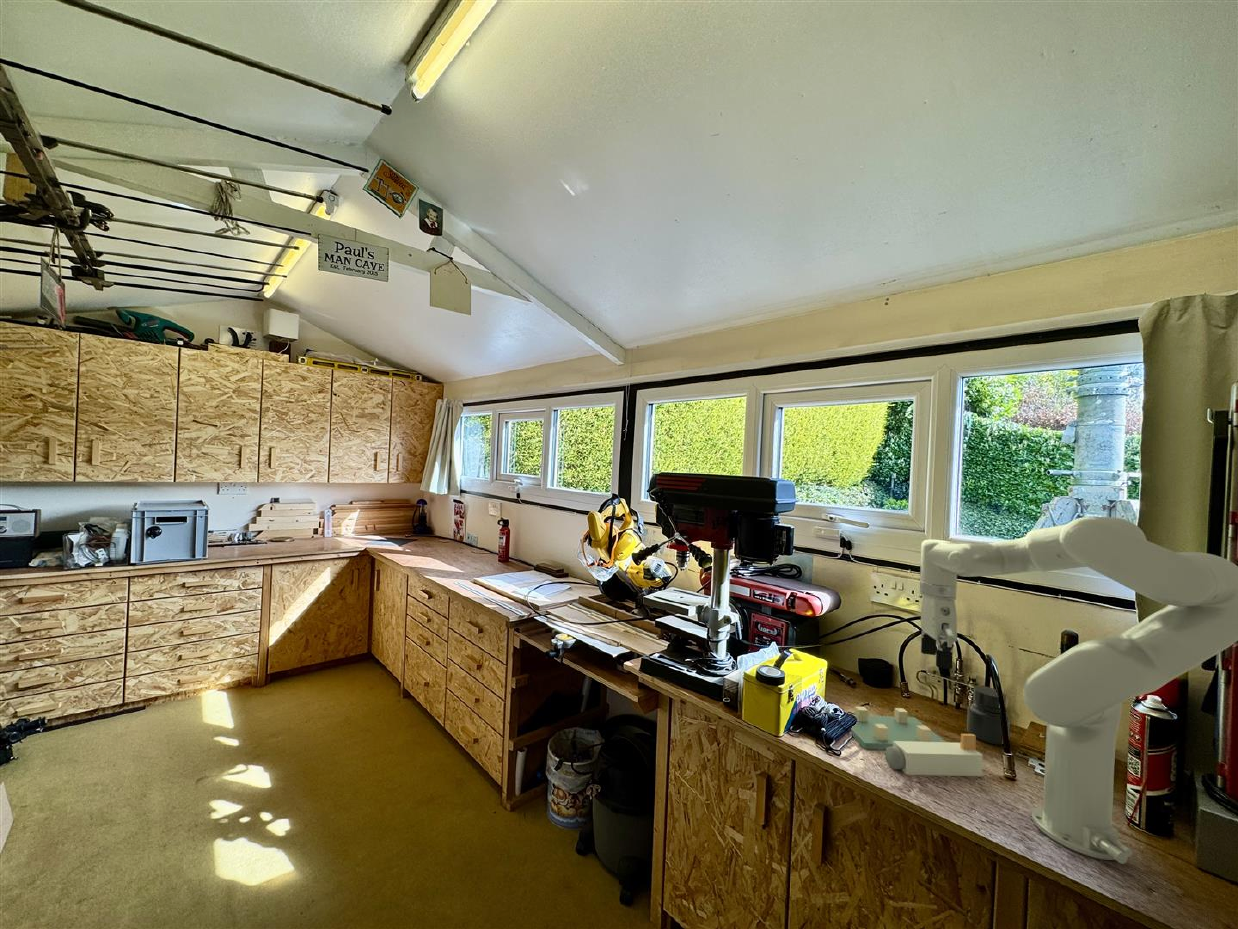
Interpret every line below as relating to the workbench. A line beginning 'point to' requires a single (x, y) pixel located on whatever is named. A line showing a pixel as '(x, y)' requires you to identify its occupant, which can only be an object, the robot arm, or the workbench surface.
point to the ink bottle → (986, 715)
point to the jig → (889, 729)
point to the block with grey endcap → (936, 757)
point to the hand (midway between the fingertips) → (935, 660)
